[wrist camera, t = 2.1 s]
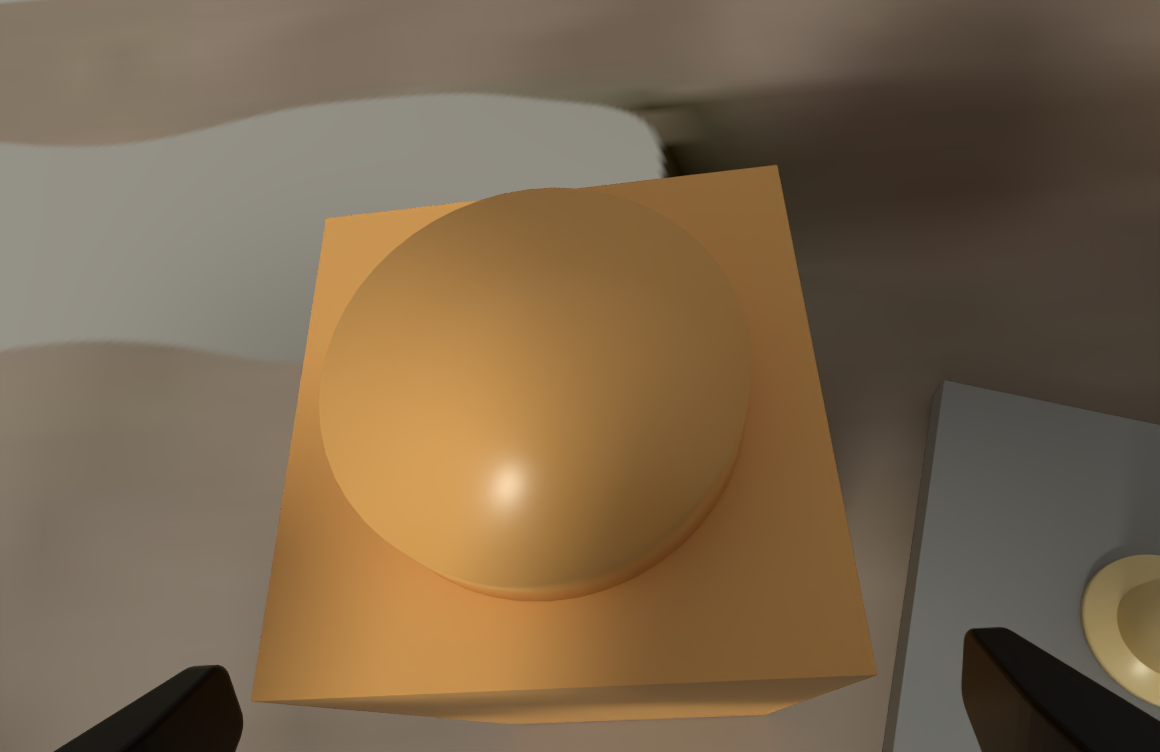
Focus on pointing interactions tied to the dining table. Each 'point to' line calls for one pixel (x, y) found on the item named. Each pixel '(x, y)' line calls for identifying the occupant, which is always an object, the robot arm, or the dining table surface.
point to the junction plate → (1028, 554)
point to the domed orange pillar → (563, 465)
